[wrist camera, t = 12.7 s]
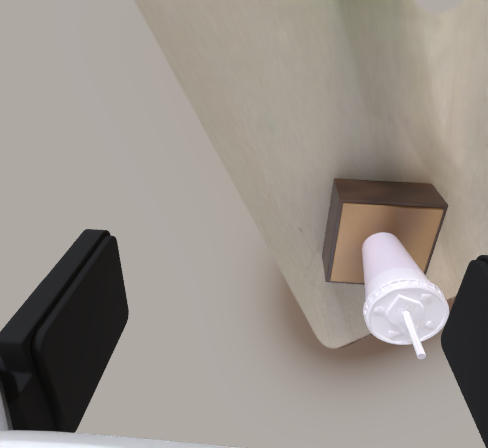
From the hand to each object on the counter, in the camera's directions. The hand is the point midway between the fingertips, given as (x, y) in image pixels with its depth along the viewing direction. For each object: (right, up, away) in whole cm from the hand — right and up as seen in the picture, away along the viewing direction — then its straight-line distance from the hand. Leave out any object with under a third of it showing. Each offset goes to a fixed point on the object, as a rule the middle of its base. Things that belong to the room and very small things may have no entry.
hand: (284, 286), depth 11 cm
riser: (+13, +2, +33) cm, 36 cm away
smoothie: (+13, -1, +29) cm, 31 cm away
